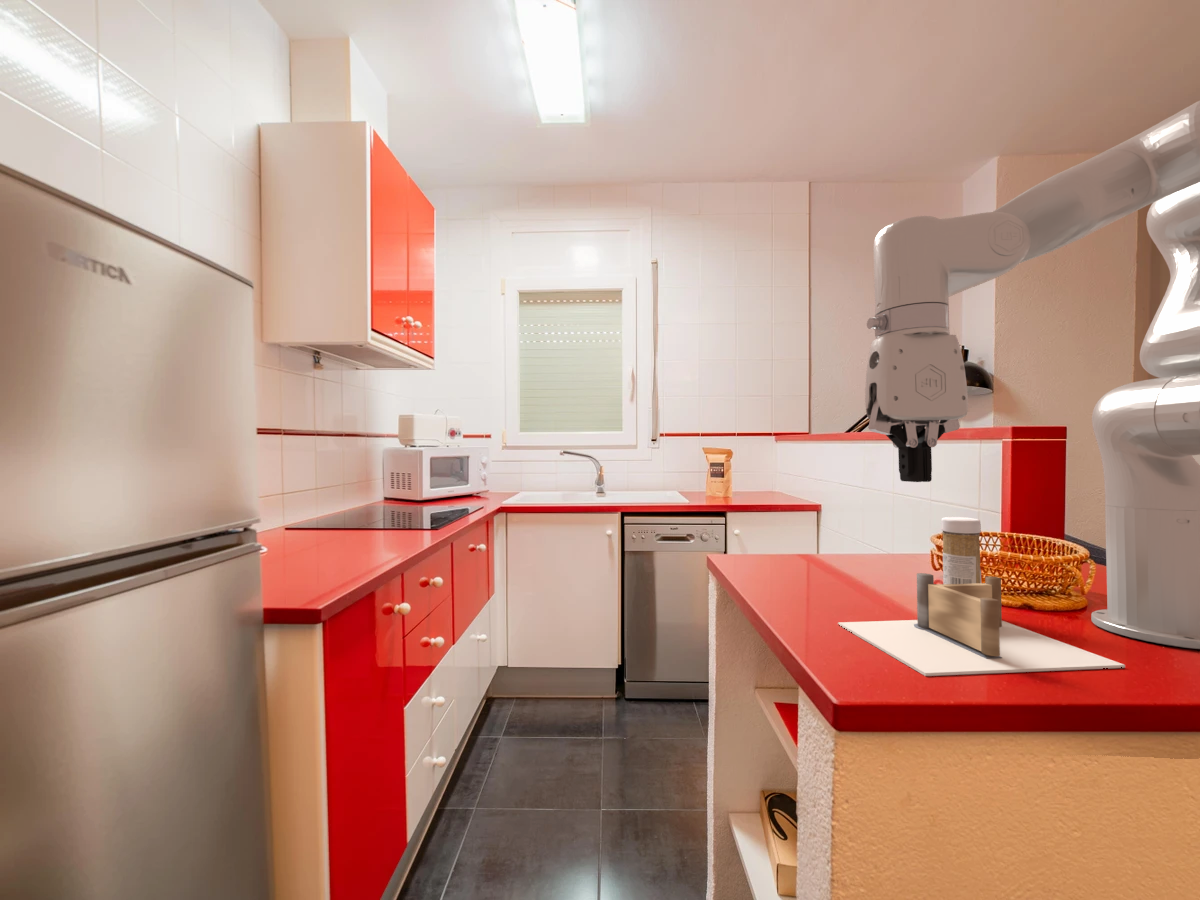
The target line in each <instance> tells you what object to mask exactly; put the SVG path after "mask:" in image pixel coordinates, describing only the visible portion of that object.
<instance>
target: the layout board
mask: <svg viewBox="0 0 1200 900" xmlns="http://www.w3.org/2000/svg"><path fill="white" fill-rule="evenodd" d="M838 624H839V625H840V627H841V626H842V627H841V628H843V629H844V628H845V630H846V629H847V630H846V631H848V632H849V631H850V633H851V632H852V633H851V634H853V635H854V636H856V637H858V638H860V639H862V640H863V641H865V642H866V643H868V644H870V645H872V646H873V647H874V648H877V649H878V650H880V651H881V652H883V653H885V654H887V655H889V656H890V657H892V658H894V659H895V660H898V661H899V662H901V663H903V664H904V665H906V666H907V667H910V669H912V670H914V671H916V672H918V673H920V674H921V675H923V676H924V677H932V676H933V677H935V676H936V677H937V676H956V675H957V676H959V675H962V676H963V675H983V674H984V675H985V674H1006V673H1007V674H1008V673H1009V674H1010V673H1026V672H1027V673H1029V672H1030V673H1031V672H1035V673H1036V672H1050V671H1051V672H1055V671H1057V672H1058V671H1078V670H1079V671H1082V670H1103V668H1105V670H1106V668H1108V669H1125V668H1126V664H1124V663H1120V662H1118V661H1116V660H1112V659H1110V658H1107V657H1104V656H1102V655H1099V654H1096V653H1093V652H1090V651H1087V650H1085V649H1082V648H1079V647H1077V646H1074V645H1071V644H1069V643H1065V642H1063V641H1060V640H1057V639H1054V638H1051V637H1049V636H1046V635H1043V634H1040V633H1037V632H1035V631H1032V630H1030V629H1027V628H1024V627H1021V626H1019V625H1015V624H1013V623H1010V622H1007V621H1005V620H1002V627H999V633H1000V656H989V655H986V654H983V653H982V652H981V651H979V650H977V649H975V648H973V647H971V646H968V645H966V644H964V643H962V642H960V641H957V640H955V639H953V638H951V637H949V636H946V635H944V634H942V633H940V632H938V631H935V630H933V629H925V628H921V627H918V619H909V620H908V619H907V620H905V619H903V620H902V619H901V620H878V621H875V620H874V621H869V620H868V621H847V622H846V621H844V622H839V621H838V622H837V625H838ZM839 625H838V626H839ZM1121 667H1122V668H1121Z"/></svg>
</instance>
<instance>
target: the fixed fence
mask: <svg viewBox="0 0 1200 900" xmlns="http://www.w3.org/2000/svg"><path fill="white" fill-rule="evenodd" d="M984 580H985V583H983V582H981V583H973V584H943V583H941V584H939V583H938V584H937V583H936V584H937V585H940V586H943V587H946V588H949V589H952V590H955V591H958V592H961V593H964V594H967V595H971V596H974V597H977V598H993V599H997V600H999V627H1002V621H1003V620H1002V615H1003V614H1002V609H1003V608H1002V578H1001V577H998V576H991V575H989V576H985V579H984ZM928 584H935V583H934V575H933V574H931V573H925V572H924V573H922V572H921V573H920V572H918V573H916V604H917V605H916V606H917V607H916V609H917V619H916V620H918V627H921V628H925V629H931V628H929V601H928Z"/></svg>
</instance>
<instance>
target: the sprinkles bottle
mask: <svg viewBox="0 0 1200 900" xmlns="http://www.w3.org/2000/svg"><path fill="white" fill-rule="evenodd" d="M940 521H941V522H940V529H941V531H942V532H941V533H942V550H943V551H942V573H943V576H942V577H943V578H942V579H943V580H942V581H943V583H942V584H973V583H982V570H981V550H980V549H981V548H980V545H981V544H980V535H981V534H980V533H981V532H982V527H981V520H980V519H979V518H973V517H966V516H945V517H942V518H941V520H940Z"/></svg>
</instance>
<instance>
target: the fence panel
mask: <svg viewBox="0 0 1200 900" xmlns="http://www.w3.org/2000/svg"><path fill="white" fill-rule="evenodd" d="M928 601H929V628H931V629H933V630H935V631H938V632H940V633H942V634H944V635H946V636H949V637H951V638H953V639H955V640H957V641H960V642H962V643H964V644H966V645H968V646H971V647H973V648H975V649H977V650H979V651H981V652H982V653H983V654H986V655H989V656H1000V633H999V600H997V599H993V598H977V597H974V596H971V595H967V594H964V593H961V592H958V591H955V590H952V589H949V588H946V587H943V586H940V585H937V583H934V584H928Z"/></svg>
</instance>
